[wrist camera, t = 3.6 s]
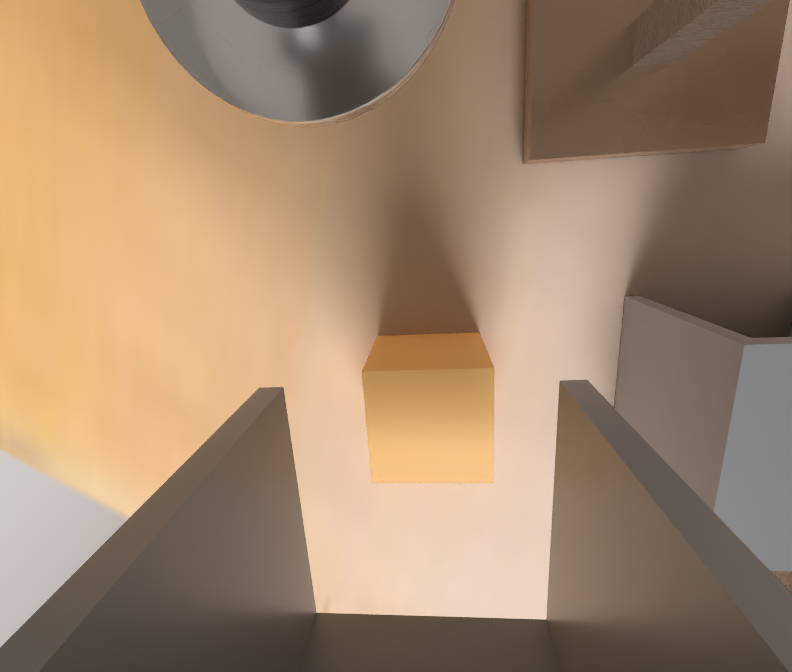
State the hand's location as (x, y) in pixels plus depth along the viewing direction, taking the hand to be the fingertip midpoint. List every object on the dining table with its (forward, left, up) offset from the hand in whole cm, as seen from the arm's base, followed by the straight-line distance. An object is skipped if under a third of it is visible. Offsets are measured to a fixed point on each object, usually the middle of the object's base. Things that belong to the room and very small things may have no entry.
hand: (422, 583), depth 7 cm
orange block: (0, 0, -10) cm, 10 cm away
